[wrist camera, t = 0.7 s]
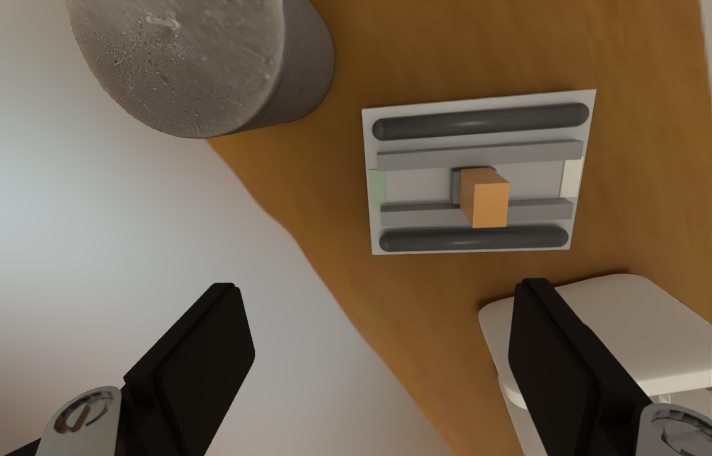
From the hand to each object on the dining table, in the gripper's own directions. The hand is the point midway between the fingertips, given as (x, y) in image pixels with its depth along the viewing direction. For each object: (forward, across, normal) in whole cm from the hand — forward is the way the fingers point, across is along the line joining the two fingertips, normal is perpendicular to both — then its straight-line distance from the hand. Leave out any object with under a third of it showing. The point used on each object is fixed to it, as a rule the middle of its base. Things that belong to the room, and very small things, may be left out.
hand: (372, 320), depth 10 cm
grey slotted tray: (+20, -6, 0) cm, 21 cm away
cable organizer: (+21, -17, +16) cm, 31 cm away
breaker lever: (+17, -6, 0) cm, 18 cm away
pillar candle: (+20, +8, -10) cm, 24 cm away
